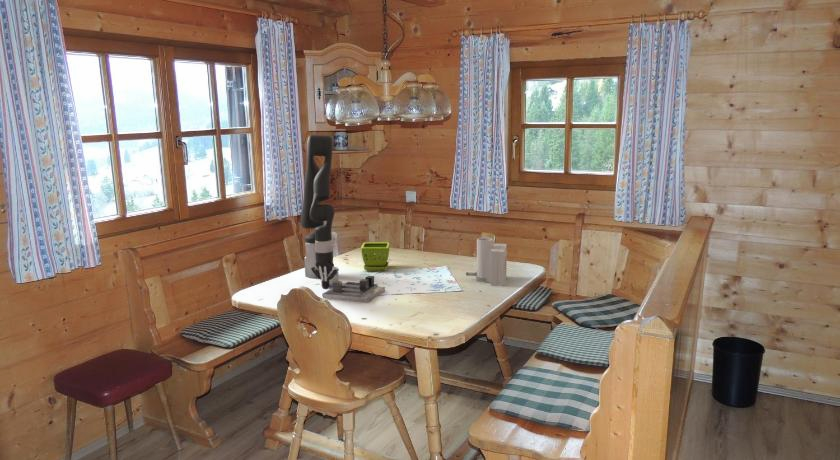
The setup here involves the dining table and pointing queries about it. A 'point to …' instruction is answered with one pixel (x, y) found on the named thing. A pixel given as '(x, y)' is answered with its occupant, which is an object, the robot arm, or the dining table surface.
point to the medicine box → (332, 279)
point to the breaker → (337, 286)
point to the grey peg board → (357, 291)
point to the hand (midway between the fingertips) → (325, 288)
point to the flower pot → (375, 255)
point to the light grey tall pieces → (490, 262)
